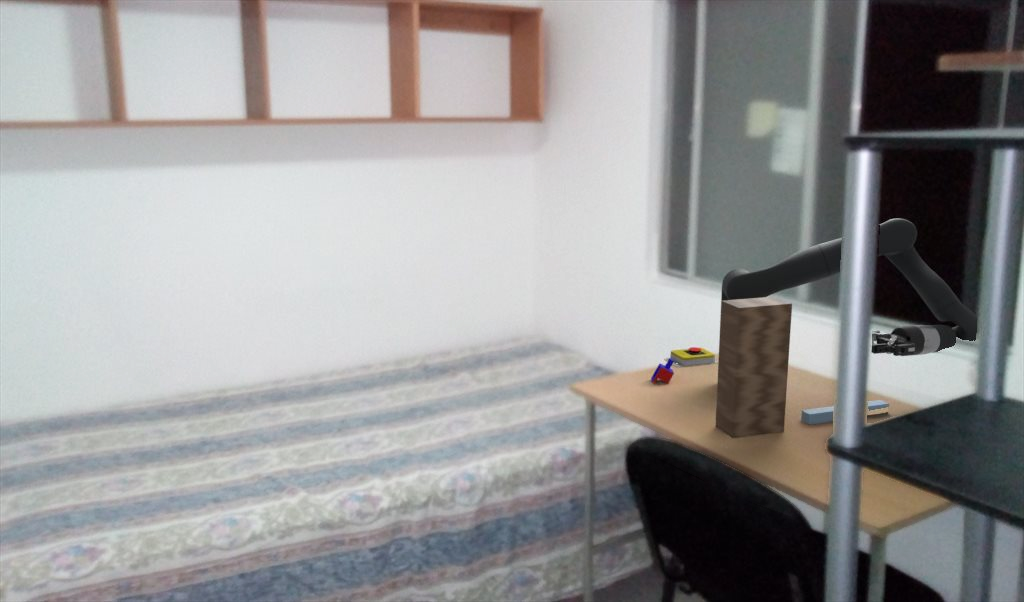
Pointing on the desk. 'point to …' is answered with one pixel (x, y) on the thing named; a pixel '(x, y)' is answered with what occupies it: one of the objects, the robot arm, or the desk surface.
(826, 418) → the bar
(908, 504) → the desk surface
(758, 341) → the upright
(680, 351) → the emergency button
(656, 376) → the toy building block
